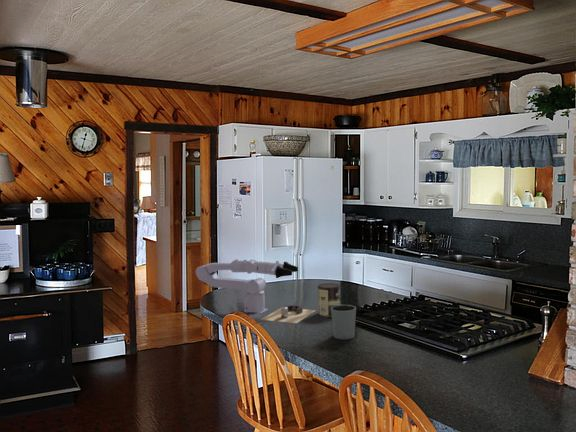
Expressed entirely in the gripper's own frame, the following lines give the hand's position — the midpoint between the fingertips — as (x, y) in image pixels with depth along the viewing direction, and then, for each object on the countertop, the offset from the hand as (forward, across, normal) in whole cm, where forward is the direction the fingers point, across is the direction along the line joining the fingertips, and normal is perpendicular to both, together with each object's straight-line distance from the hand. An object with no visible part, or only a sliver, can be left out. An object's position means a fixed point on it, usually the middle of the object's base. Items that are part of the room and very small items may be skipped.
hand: (294, 271), depth 269 cm
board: (-1, -5, +21) cm, 21 cm away
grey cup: (+32, -28, +18) cm, 46 cm away
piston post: (-1, -10, +20) cm, 22 cm away
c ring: (-1, +1, +20) cm, 20 cm away
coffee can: (+16, +2, +20) cm, 26 cm away
